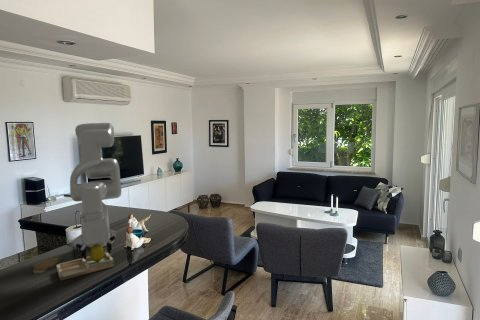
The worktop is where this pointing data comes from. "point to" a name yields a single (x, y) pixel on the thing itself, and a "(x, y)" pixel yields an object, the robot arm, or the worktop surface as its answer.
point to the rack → (83, 266)
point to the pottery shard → (45, 265)
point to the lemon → (97, 253)
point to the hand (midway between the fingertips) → (97, 255)
